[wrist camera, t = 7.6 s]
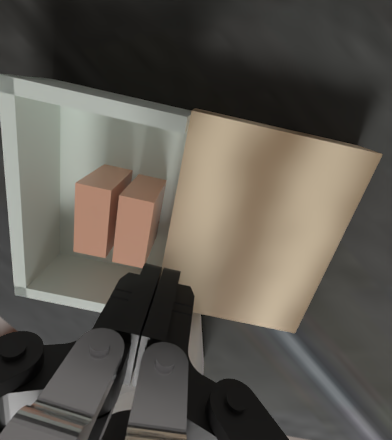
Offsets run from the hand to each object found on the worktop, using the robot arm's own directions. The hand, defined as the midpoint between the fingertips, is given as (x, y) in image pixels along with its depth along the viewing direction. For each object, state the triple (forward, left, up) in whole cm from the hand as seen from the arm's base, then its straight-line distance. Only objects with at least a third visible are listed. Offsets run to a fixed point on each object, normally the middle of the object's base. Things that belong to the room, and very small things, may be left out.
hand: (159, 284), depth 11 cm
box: (+5, +1, -10) cm, 11 cm away
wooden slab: (-5, +1, -10) cm, 11 cm away
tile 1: (+1, +1, -7) cm, 8 cm away
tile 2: (+4, +1, -7) cm, 8 cm away
